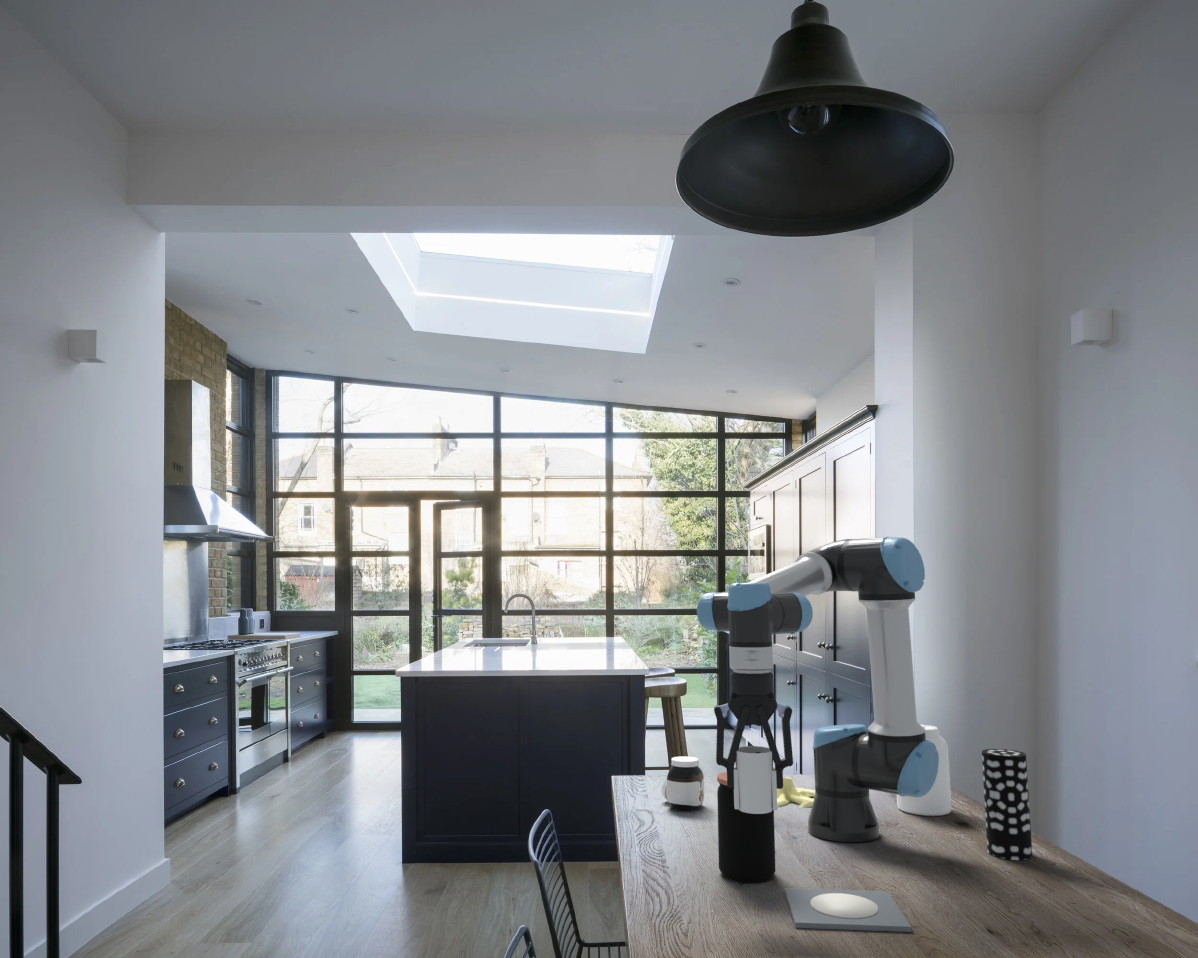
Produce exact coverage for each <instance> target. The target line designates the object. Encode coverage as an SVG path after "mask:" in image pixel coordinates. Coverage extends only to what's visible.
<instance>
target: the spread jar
mask: <svg viewBox="0 0 1198 958" xmlns="http://www.w3.org/2000/svg"><path fill="white" fill-rule="evenodd" d="M699 761H700V760H699V758H698V757H695V756H689V755H687V756H686V755H685V756H684V755H683V756H682V755H681V756H673V757H671V767H670V768H669V770H668V773H667V776H666V779H665V780H664V781H663V784H662V786H661V795H662V797H663V798H664V799H666V801H667V804H668V805H669V807H670V808H672V809H673V810H675V811H683V812H691V811H697V810H699V809H701V808H702V806H703V803H704V799H705V777H704V776H705V775H704V772H703V770H702V768H701V767H700V766H699V765H700V762H699Z"/></svg>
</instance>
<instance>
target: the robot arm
mask: <svg viewBox="0 0 1198 958" xmlns="http://www.w3.org/2000/svg"><path fill="white" fill-rule="evenodd" d="M925 577H926V573H925V565H924V561H923V557H922V555H921V553H920V550H919V549H918V548H917V547H916V545H915V544H914V543H913V542H912V541H911V540H909V538H905V537H897V536H895V537H894V536H885V537H884V536H883V537H871V538H870V537H868V538H854V539H853V538H845V539H841V540H840V539H839V540H835V541H832V542H829V543H827V544H824V545H822V546H819V547H816V548H813V549H811V550H808V551H807V552H804V553H802V554H800V555H799V556H798V557H797V558H796V560H795V561H794V562H793V563H791V564H788V565H786V566H784V567H781V568H779V569H776V570H774V571H772V572H769V573H767V574H765V575H762V576H760V577H758V578H755V579H753V580H750V581H748V582H733V583H731V584H730V585H729V587H728V588H727V589H728V590H726V591H721V592H719V591H714V592H707V593H704V594H703V595H702V596H700V598H699V600H698V602H697V605H696V614H697V620H698V623H699V624H700V625H701V627H703V629H705V630H709V631H716V632H719V633H720V632H729V646H728V648H729V649H728V651H729V654H728V655H729V668H730V669H731V670H732V671H731V672H730V673H729V680H730V681H729V683H730V686H729V687H730V691H729V692H730V695H729V698H728V701H727V703H724V704H721V705H718V704H716V705H714V707H713V712H714V715H715V718H716V746H715V748H716V752H715V753H716V754H715V755H716V756H715V759H716V764H717V766H721V767H724V768H725V769H726V772H727V785H728V788H734V807H735V809H739V782H738V770H737V769H736V766H735V765H736V764H735V760H736V757H737V751H738V749H739V747H740V745H741V741H742V737H743V733H744V730H745V727H749V726H756V727H762V731H763V734H764V736H765V738H766V742H767V745H768V748H769V749H770V752H771V751H772V757H773V765H774V766H773V770H772V808H773V810H774V811H778V808H777V789H782V788H783V778H784V769H785V768H788V767H792V766H793V765H794V755H793V746H792V745H793V743H792V733H791V732H792V731H791V719H792V718H791V717H792V715H793V709H792V708H791V706H790V705H783V704H779V703H778V702H777V700H776V698H775V688H774V687H775V685H774V684H775V683H774V673H773V672H772V671H770V670H773V668H774V662H773V661H774V658H773V654H774V653H773V635H781V634H782V635H783V634H790V635H794V634H796V633H800V632H803V631H805V630H806V629H808V628H809V627H810V625H811V623H812V620H813V614H814V613H813V612H814V610H813V607H812V604H811V602H810V600H809V599H808V598H807V596H809V595H812V596H813V595H814V596H819V595H823V594H825V593H827V592H857V593H858V595H857V596H858V601H859V603H861V604H862V605H863V606H864V607H865V609H866V619H867V621H866V622H867V632H868V633H867V634H868V648H869V649H868V650H869V661H870V674H871V675H870V676H871V677H870V679H871V689H872V691H871V692H872V706H873V718H874V720H873V722H871V724H870V725H868V727H867V726H866V724H860V723H859V724H857V723H851V724H836V725H827V726H822V727H819V728H817V729H816V730H815V731H814V733H813V745H812V751H813V769H814V771H813V772H814V790H815V797H813V799H814V802H813V805H812V807H811V808H810V813H809V815H808V820H807V828H808V830H807V831H808V833H809V834H811V835H812V836H814V837H817V838H820V839H823V840H828V841H831V842H832V841H834V842H841V843H864V842H870V841H874V840H876V839H878V838H879V837H880V824H879V821H878V818H877V816H876V813H875V810H874V807H873V805H872V802H871V798H870V791H871V790H872V791H876V792H881V793H888V794H893V795H897V794H898V795H900V796H903V797H904V796H910V797H922V796H924V795H926V794H927V793H928V792H929V791H930V790H931V788H932V786H933V784H934V782H935V780H936V776H937V772H938V765H939V755H938V750H937V749H936V746H935V744H934V743H933V742H931V741H929V740H926V737H925V729H924V728H923V727H922V726H921V725H920V723H919V722H918V720H917V707H916V695H915V694H916V693H915V692H916V691H915V681H914V665H913V654H912V653H913V652H912V639H911V637H912V636H911V626H910V625H911V624H910V613H909V608H910V606H911V605H912V604H913V603H914V601H916V594H915V593H916V592H919V591H921V590H922V588H923V586H924V582H925V581H924V580H925ZM728 711H731V713H732V715H733V716H734V717H735V718H736V719H737V721H736V725H735V729H734V733H733V737H732V741H731V745H730V748H729V751H728V756H727V758H726V757H725V756H724V749H725V748H724V746H725V718H726V717H728ZM776 711H778V716H779V718H780V719H781V729H782V731H781V732H782V741H783V751H784V752H783V754H784V758H782V759H781V757H780V754H779V751H778V750H779V749H778V748H777V744H776V742H775V738H774V736H773V732H772V729H771V726H770V722H769V720H770V719H771V718H772V716H773V714H774V713H775V712H776Z"/></svg>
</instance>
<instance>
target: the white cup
mask: <svg viewBox="0 0 1198 958" xmlns="http://www.w3.org/2000/svg"><path fill="white" fill-rule="evenodd" d="M734 765H735V767H736V769H737V770H738V782H739V810H740V811H742V812H745V813H751V814H764V813H769V812H771V811H772V810H773V808H772V770H773V767H774V761H773V757H772V751H771V752H770V749H769V747H767V746H766V747H765V746H758V745H747V746H746V745H745V746H739V749H738V751H737V757H736V760H735V764H734Z"/></svg>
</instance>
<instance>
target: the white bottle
mask: <svg viewBox="0 0 1198 958" xmlns="http://www.w3.org/2000/svg"><path fill="white" fill-rule="evenodd" d="M919 724H920V723H919ZM920 725H921V726H922V727H923V728H924V729H925V737H926V740H929V741H931V742H933V743H934V744H935V746H936V749H937V750H938V755H939V765H938V772H937V776H936V780H935V782H934V784H933V786H932V788H931V790H930V791H929V792H928V793H927V794H926V795H924V796H922V797H910V796H904V797H903V796H900V795H898V794H896V805H897V806H896V807H897V808H898V809H899V810H900V811H902V812H905V813H908V814H911V815H917V816H924V817H926V816H927V817H938V816H944V815H948V814H950V813H951V812H952V795H951V778H950V777H951V776H950V756H949V745H948V743H947V740H946V739H945V738H944V737H942V736H941V735H940V730H939V728H938V727H937V726H935V725H930V724H920Z"/></svg>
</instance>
